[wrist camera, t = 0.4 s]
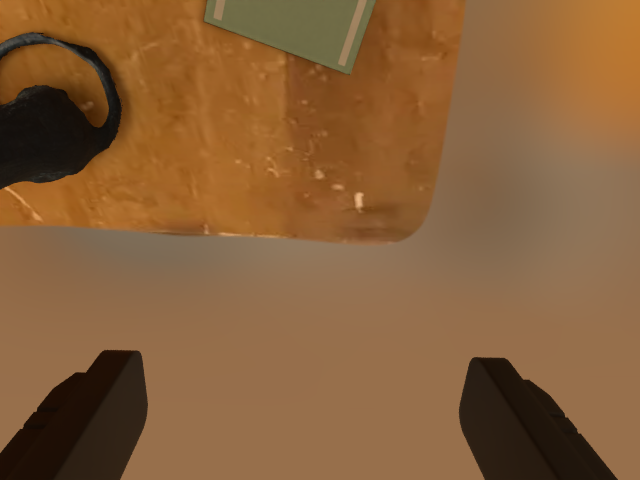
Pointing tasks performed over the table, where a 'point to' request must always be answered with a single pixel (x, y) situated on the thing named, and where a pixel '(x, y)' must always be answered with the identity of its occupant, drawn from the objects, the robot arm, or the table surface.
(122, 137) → the table surface
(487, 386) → the robot arm
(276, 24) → the napkin
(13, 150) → the sculpture
